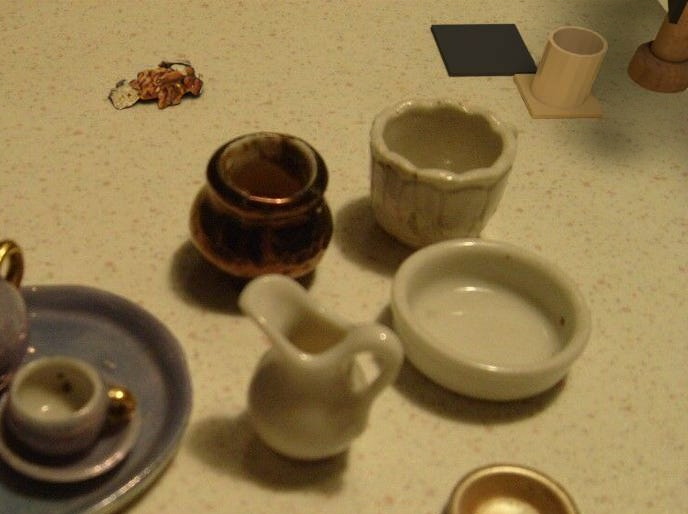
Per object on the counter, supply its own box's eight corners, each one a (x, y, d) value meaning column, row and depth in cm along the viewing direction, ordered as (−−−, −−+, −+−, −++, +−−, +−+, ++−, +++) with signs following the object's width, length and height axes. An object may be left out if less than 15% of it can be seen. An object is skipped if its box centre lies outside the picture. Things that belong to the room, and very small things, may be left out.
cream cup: (574, 81, 114) (596, 25, 107) (591, 112, 109) (615, 56, 103) (522, 82, 113) (542, 25, 107) (537, 113, 109) (558, 57, 103)
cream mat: (579, 76, 114) (581, 73, 114) (601, 117, 109) (603, 113, 108) (513, 77, 114) (514, 73, 113) (532, 118, 108) (533, 114, 108)
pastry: (102, 90, 111) (100, 66, 108) (186, 68, 114) (186, 44, 111) (123, 120, 107) (121, 95, 104) (210, 97, 110) (210, 72, 107)
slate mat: (513, 27, 122) (514, 23, 121) (537, 75, 114) (539, 71, 114) (430, 28, 121) (431, 24, 121) (449, 76, 114) (450, 72, 113)
